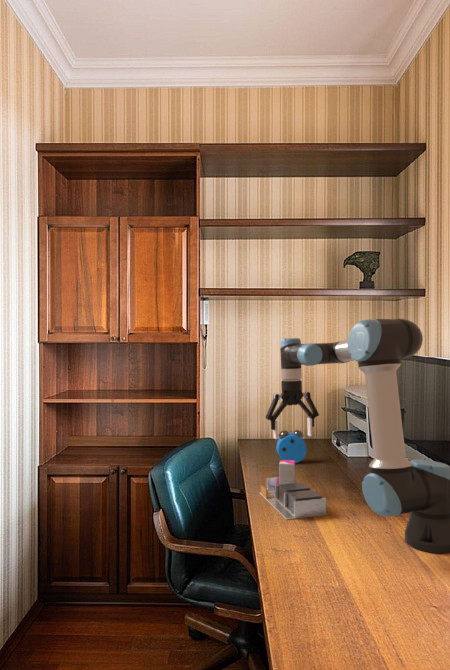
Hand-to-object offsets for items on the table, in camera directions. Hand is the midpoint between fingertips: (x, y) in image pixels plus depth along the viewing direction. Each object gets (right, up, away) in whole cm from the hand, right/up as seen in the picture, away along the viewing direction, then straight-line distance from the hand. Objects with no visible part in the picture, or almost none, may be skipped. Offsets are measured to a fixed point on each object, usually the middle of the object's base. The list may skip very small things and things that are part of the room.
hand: (293, 437), depth 196 cm
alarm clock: (+6, -21, +48) cm, 52 cm away
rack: (-2, -22, -8) cm, 23 cm away
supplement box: (-2, -21, +1) cm, 21 cm away
